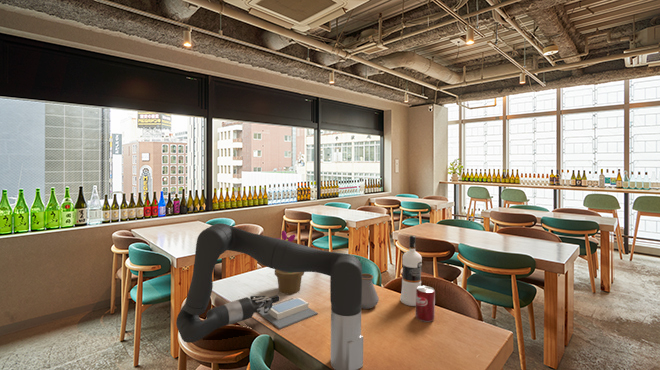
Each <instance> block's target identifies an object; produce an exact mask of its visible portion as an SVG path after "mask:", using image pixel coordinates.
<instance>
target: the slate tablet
mask: <svg viewBox="0 0 660 370" xmlns="http://www.w3.org/2000/svg"><path fill="white" fill-rule="evenodd" d="M308 308H309V302H307V301H306V300H304V299H302V298H300V297H296V298H293V300H290V301H287V302H284V303H281V304H278V305H275V306H272V308H271V309H270V310H269V311H268V313H269V314H270V315H271V316H273V317H274V318H276V319H277V320H279V319H282V318H284V317H287V316H290V315H292V314H295V313H298V312H300V311H303V310H306V309H308Z"/></svg>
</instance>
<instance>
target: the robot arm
mask: <svg viewBox="0 0 660 370" xmlns="http://www.w3.org/2000/svg"><path fill="white" fill-rule="evenodd" d="M277 238H278V237H271V236H267V235H263V234H259V233H254V232H249V231H247V230H243V229H241V228H238V227H235V226H234V225H229V224H227V223H221V222H220V223H215V224H212V225H210V226H209V227H207V228H205V229H203V230H202V231H201V232H200V233H199V234H198V236H197V239H196V244H195V254H194V262H193V268H192V269H193V270H192V271H193V272H192V276H191V281H190V284H189V288H188V291H187V295H186V299H185V303H184V304H183V306H182V308H181V309H180V310H179V312H178V314H177V317H176V320H175V323H176V325H175V326H176V329H177V330H178V333H179V335H180V338H181V340H182V341H183V342H185V343H187V344H189V343H191V344H193V343H196V342H198V341H199V340H202V339H204V338H205V337H206V336H207V335H209V334H211V333H212V332H213V331H216V330H217V329H221V328H222V327H226V326H229V325H234V324H237V323H240V322H243V321H246V320H248V319H251V318H252V317H253V315H254V314H256V313H258V312H260V311H264V313H268V311H269V310H270V309H271V308H272V305H273V304H277V303H280V296H279V295H277V294H276V295H271V296H266V295H250V298H249V297H247V296H246V297H243V298H240V299H239V298H238V299H237V300H236V299H235V300H233V301H230V302H227V303H225V304H222V305H218V306H215V307H212V308H210V309H208V310H207V308H208V306H209V302H210V300H211V296H212V292H213V287H214V283H213V272H214V269H215V266H216V264H217V261H218V260H219V259H220V257H221V255H223V253H225V252H226V251H229V252H230V251H232V252H236V253H240V254H241V253H242V254H244V255H247V256H250V257H251V258H252V259H254V260H255V261H257V262H258V263H259V264H260V265H262V266H264V267H267V268H269V269H273V270H275V269H276V270H280V271H284V272H304V273H316V274H317V273H318V274H320V275H321V274H322V275H325V276H328V277H329V278H330V279H329V283H330V285H329V287H330V288H329V290H330V293H329V294H330V295H329V297H330V298H329V299H330V366H331V368H333V370H359V369H361V368H363V367H364V336H363V334H362V308H361V305H362V274H363V266H362V263H361V261H360V260H359V258H357V257H356V256H354V255H352V254H349V253H343V252H335V251H327V250H322V249H319V248H314V247H312V246H308V245H304V244H301V243H295V242H293V241H292V242H290V241H286V240H287V239H286V240H284V239H283V238H280V239H277ZM206 311H207V312H206ZM205 312H206V318H205V319H203V320H201V318H200V315H202V314H204V313H205Z"/></svg>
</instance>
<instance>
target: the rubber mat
mask: <svg viewBox="0 0 660 370" xmlns="http://www.w3.org/2000/svg"><path fill="white" fill-rule="evenodd" d="M293 299H294V298H292V297H291V298H290V299H287V300H283V301H281V302H280V301H279V302H276V303H273V304H272V306H275V305H278V304H281V303H284V302H287V301H290V300H293ZM257 313H258V315H260V316H261V317H262V318H264V319H265V320H267V321H269V323H270V324H272V325H274V326H275V327H276V328H277V329H278V330H281V329H284V328H286V327H289V326H291V325H294V324H297V323H299V322H302V321H304V320H307V319H309V318H311V317H314V316H317V315H318V312H317V311H315V310H313V309H312V308H310V307H308V309H306V310H303V311H300V312H298V313H295V314H292V315H290V316H287V317H284V318H282V319H279V320H277V319H276V318H274V317H273V316H271V315H270V314H269V313H264V311H260V312H257Z"/></svg>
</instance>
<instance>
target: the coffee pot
mask: <svg viewBox="0 0 660 370" xmlns="http://www.w3.org/2000/svg"><path fill="white" fill-rule="evenodd" d="M373 279H374V276H373V275H372V274H370V273H362V305H361V309H363V310H364V309H365V310H368V309H372V308H374V307H375V306H376V305H378V303H379V301H380V299H379V296H378V294H377V291H376V288H375V286H374V283H373V281H372V280H373Z"/></svg>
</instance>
